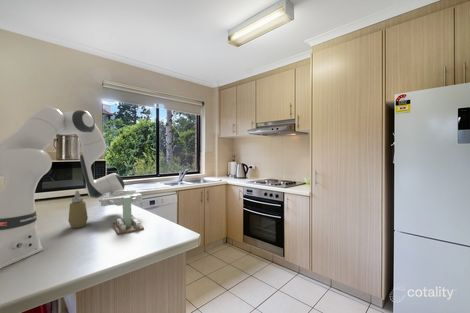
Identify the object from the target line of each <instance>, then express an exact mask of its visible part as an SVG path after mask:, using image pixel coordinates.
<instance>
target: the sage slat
mask: <svg viewBox="0 0 470 313" xmlns="http://www.w3.org/2000/svg"><path fill="white" fill-rule="evenodd" d="M122 202H123V205H122V221H123V223H124V224H125V226H126V227H128V226H132V216H131V215H132V202H131V197H130V196H122Z"/></svg>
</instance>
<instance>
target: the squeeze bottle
mask: <svg viewBox="0 0 470 313" xmlns="http://www.w3.org/2000/svg"><path fill="white" fill-rule="evenodd" d="M88 219H89V216H88V211H87V204H86V202H85V200H84V197H82V196H81V194H80V191H79V190H76V191H75V193H74V197H73V198H71V203H69V210H68V220H67V222H68V223H69V226H70V228H71V229H77V228H78V229H79V228H83V227H84V226H86V224H87V221H88Z"/></svg>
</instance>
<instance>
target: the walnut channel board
mask: <svg viewBox="0 0 470 313" xmlns="http://www.w3.org/2000/svg"><path fill="white" fill-rule="evenodd" d="M131 216H132V226H128V227H126V226H125V224H124V223H123V219H121V217H120V216H117V217H115V221H114V222H112V223H111V224H112V226H113V228H114V230H115V232H116V234H117V236H120V235H124V234H130V233H134V232H138V231H143V230H145V227H144V226H143V225H142V223H140V221H139V220H138V219H137V218H136V217H135V216H134V215H133V214H131Z"/></svg>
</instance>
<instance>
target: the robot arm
mask: <svg viewBox="0 0 470 313" xmlns="http://www.w3.org/2000/svg"><path fill="white" fill-rule="evenodd" d="M70 135H76V136H77V138H78V139H79V142H80V145H81V147H82V153H81V155H79V161H80V166H81V170H82V175H83V177H84V181H85V188H86V189H85V190H86V194H87V195H88V196H89V197H90V198H93V199H99V198H100V199H99V200H98V202H99V203H100V207H108V206H117V207H119V206H120V207H121V206H123V202H122V196H130V197H131V203H135V202H141V201H142V200H143V194H142V193H140V192H139V191H136V190H134V189H132V190H130V189H128V190H127V189H125V182H124V180H123V178H122V176H120V174H118V173H116V172H112V173H110V174H107V175H104V176H102V177H100V178H97V179H94V176H93V172H92V165H93V164H94V163H95V161H98V159H99V158H101V157H102V156H103V155H104V154H105V152H106V151H107V143H106V141H105V138H104V136H103V134H102V132H101V130H100V129H99V127H98V126H97V124H96V122H95V118H94V117H93V115H92V114H91V113H90V112H88V111H87V110H80V109H78V110H75V111H73V110H72V111H64V112H61V111H60V110H59V109H58V108H56V107H51V106H45V107H42V108H40V109H38V110H37V111H36V112H34V113H33V114H32V115H31V116H30V117H29V118H28V119H27V120H26V121H25V122H24V123H23V124H22V125H21V126H20V127H19V128H18V129H17V130H16V131H15V132H14V133H12V134H11V135H9V136H8V137H7V138H4V139H3V140H1V141H0V179H5V181H4V183H3V186H2V188H1V189H0V269H3V268H6V267H7V266H9V265H12V264H14V263H16V262H19V261H22V260H23V259H26V258H28V257H31V256H33V255H35V254H37V253H40V252H43V250H44V247H43V246H42V243H41V239H40V235H39V229H38V227H37V222H36V221H37V216H38V215H37V210H35V208H36V207H35V197H36V189H37V186H38V185H39V184H38V183H39V182H40V181H41V179H42V178H43V176H44V175H46V174H47V173H49V171H50V170H51V168H52V164H53V161H52V157H51V156H50V154H49V153H48V152H47V151H46V149H47V148H49V146H50V144H51V143H52V142H53V140H54V139H55V138H56V136H59V137H63V136H70ZM106 194H108V196H104V195H106ZM102 196H103V197H102Z"/></svg>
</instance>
